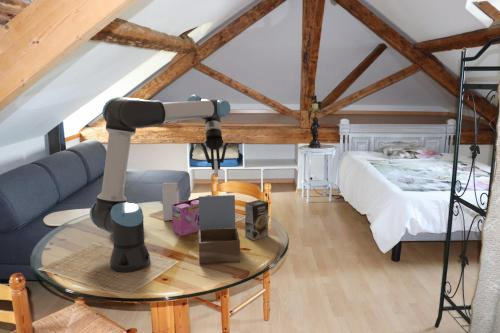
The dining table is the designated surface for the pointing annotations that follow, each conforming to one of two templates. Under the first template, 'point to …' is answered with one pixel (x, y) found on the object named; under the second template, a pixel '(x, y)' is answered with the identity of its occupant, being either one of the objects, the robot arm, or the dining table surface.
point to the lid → (217, 212)
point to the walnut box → (219, 246)
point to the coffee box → (256, 219)
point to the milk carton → (169, 199)
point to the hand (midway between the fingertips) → (216, 175)
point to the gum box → (186, 217)
